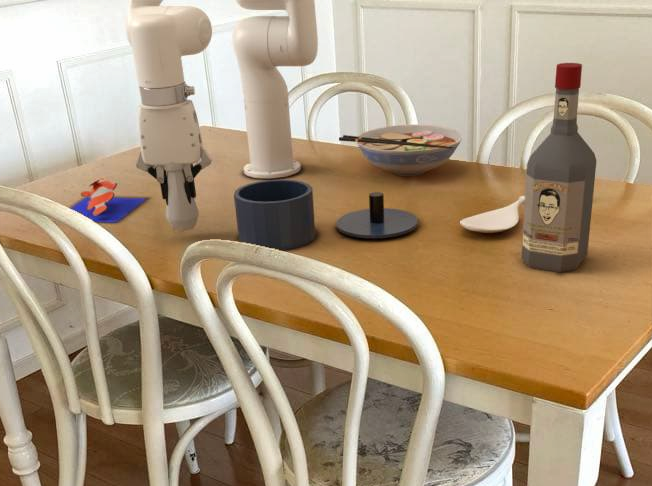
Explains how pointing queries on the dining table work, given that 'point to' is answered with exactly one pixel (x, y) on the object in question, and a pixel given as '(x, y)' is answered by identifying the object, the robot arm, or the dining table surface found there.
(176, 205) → the salt shaker
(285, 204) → the pot
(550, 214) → the liquor
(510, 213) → the spoon
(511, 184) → the dining table surface
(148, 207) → the dining table surface
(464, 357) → the dining table surface
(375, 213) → the lid
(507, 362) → the dining table surface
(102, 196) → the fish
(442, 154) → the ramen bowl
